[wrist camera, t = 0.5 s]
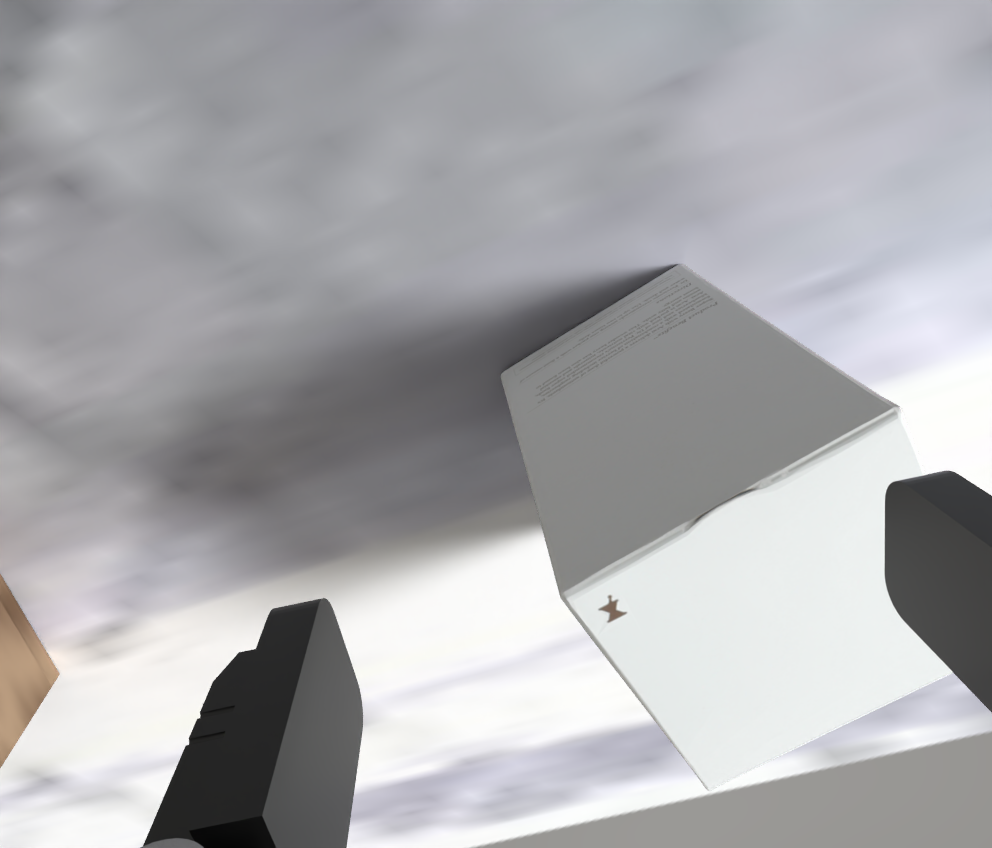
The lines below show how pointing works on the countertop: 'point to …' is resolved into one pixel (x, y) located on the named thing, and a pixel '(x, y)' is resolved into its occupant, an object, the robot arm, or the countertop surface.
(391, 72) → the countertop surface
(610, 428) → the supplement box
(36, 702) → the box
